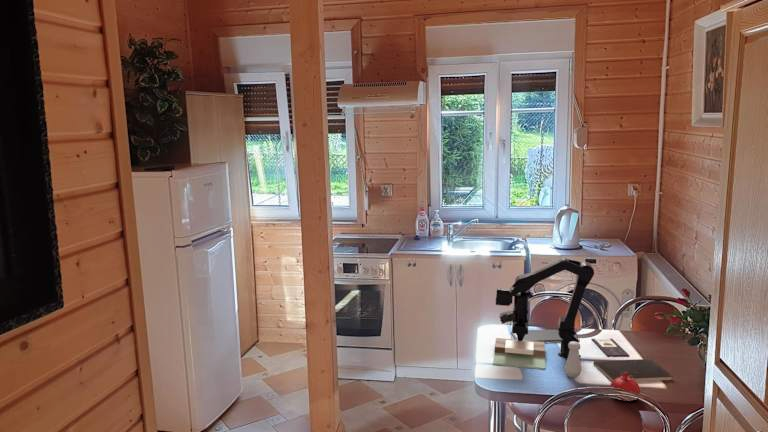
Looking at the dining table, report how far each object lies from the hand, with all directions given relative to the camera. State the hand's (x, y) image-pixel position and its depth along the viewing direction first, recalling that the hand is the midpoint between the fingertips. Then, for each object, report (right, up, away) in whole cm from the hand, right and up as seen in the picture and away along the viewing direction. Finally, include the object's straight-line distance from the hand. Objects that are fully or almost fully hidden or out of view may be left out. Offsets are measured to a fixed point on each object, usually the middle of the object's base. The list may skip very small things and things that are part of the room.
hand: (519, 342), depth 244 cm
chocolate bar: (+39, -4, +4) cm, 39 cm away
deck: (0, -4, +1) cm, 4 cm away
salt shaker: (+15, -8, -21) cm, 27 cm away
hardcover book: (+38, -8, -19) cm, 43 cm away
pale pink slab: (-1, -2, -4) cm, 5 cm away
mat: (-2, -6, -8) cm, 10 cm away
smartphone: (+15, -2, +17) cm, 22 cm away
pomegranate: (+27, -11, -39) cm, 49 cm away
